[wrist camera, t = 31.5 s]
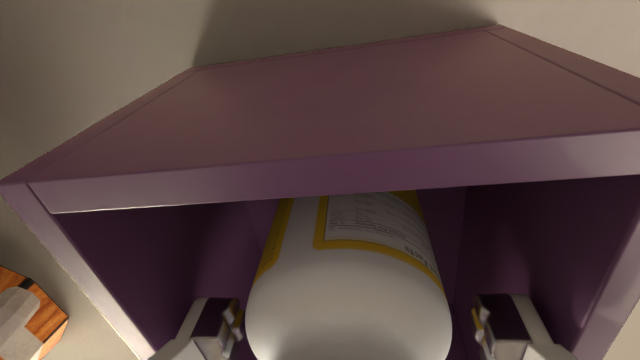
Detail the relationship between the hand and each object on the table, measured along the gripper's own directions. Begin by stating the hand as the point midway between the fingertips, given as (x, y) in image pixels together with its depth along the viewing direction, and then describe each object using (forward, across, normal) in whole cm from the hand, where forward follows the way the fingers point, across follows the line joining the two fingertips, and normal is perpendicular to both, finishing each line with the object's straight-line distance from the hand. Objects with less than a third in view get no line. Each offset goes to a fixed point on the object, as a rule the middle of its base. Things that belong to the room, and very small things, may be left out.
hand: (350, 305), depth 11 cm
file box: (+8, 0, +2) cm, 8 cm away
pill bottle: (+7, 0, 0) cm, 7 cm away
